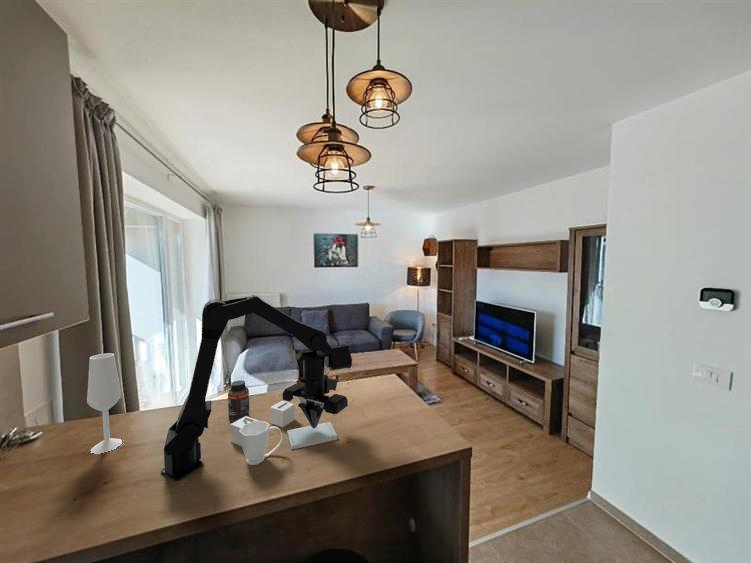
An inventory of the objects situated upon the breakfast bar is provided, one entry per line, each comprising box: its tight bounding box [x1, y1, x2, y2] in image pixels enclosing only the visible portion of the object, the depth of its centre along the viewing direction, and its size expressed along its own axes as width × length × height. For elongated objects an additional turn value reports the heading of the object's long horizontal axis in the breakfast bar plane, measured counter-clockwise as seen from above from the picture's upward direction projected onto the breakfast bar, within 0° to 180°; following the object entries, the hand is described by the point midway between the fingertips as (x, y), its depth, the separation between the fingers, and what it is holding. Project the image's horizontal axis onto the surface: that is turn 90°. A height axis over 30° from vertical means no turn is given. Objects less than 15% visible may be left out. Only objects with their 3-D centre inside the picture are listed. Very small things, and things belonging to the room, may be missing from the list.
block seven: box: [230, 416, 260, 447], centre depth 85 cm, size 5×5×5 cm
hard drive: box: [286, 421, 338, 450], centre depth 87 cm, size 2×8×12 cm
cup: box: [239, 420, 284, 466], centre depth 77 cm, size 7×10×8 cm
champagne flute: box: [86, 352, 123, 455], centre depth 81 cm, size 7×7×24 cm
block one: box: [269, 400, 296, 428], centre depth 95 cm, size 5×5×5 cm
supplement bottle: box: [227, 379, 251, 423], centre depth 96 cm, size 6×6×11 cm
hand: (314, 427), depth 88 cm, fingers closed
